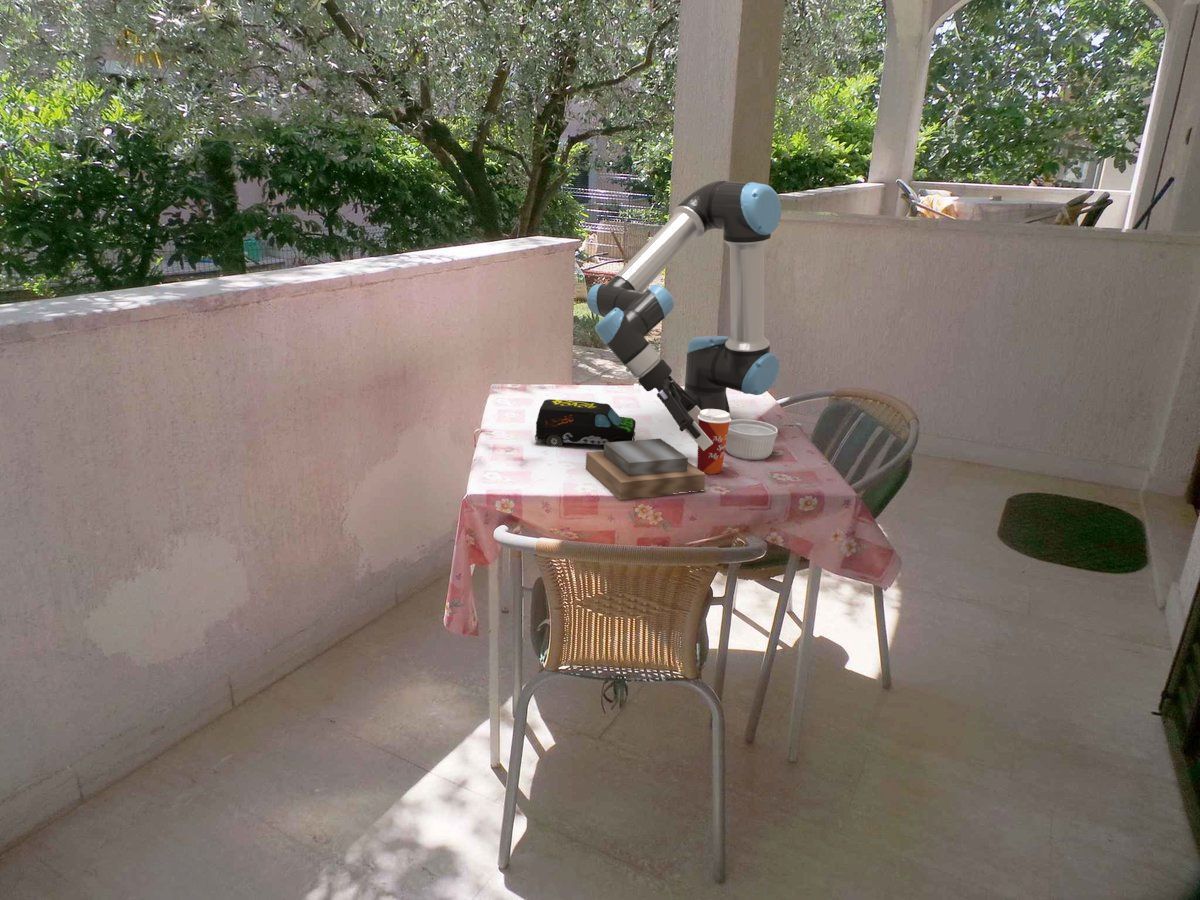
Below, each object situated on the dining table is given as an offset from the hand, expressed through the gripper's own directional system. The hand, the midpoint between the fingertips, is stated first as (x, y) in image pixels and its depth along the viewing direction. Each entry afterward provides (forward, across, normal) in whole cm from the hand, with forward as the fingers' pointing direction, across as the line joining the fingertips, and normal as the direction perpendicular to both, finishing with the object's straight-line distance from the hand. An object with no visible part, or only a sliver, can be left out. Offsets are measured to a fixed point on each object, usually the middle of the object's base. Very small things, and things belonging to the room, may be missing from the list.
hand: (709, 438), depth 196 cm
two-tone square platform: (-4, +10, -15) cm, 19 cm away
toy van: (-16, -12, -28) cm, 34 cm away
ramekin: (+13, -16, +1) cm, 21 cm away
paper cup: (+6, -1, -5) cm, 8 cm away
